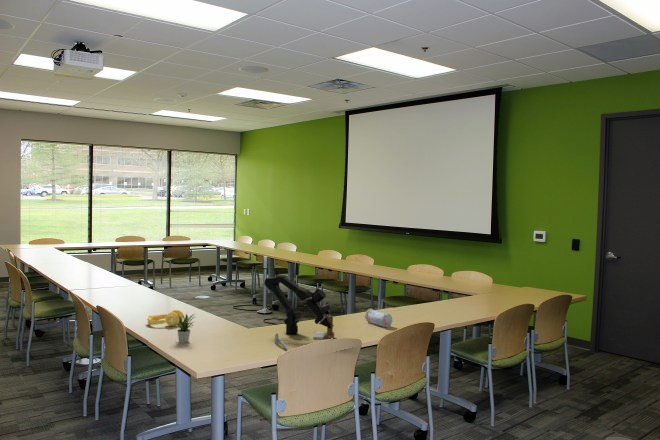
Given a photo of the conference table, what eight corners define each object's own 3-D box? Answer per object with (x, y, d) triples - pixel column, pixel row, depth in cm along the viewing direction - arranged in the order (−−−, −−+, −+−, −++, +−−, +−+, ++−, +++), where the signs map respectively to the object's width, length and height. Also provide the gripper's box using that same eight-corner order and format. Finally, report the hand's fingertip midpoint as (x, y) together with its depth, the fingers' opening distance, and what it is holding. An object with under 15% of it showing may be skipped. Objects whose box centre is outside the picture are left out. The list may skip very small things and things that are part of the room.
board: (313, 338, 304) (313, 336, 304) (315, 333, 317) (315, 331, 317) (323, 339, 304) (323, 337, 304) (325, 333, 317) (325, 331, 316)
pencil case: (364, 322, 351) (364, 308, 351) (374, 321, 356) (374, 307, 356) (382, 328, 333) (383, 314, 333) (393, 327, 338) (393, 313, 338)
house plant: (203, 339, 298) (203, 310, 298) (191, 345, 285) (192, 315, 284) (180, 337, 302) (181, 309, 301) (168, 343, 288) (168, 314, 288)
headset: (152, 320, 342) (153, 306, 342) (184, 322, 342) (185, 308, 342) (143, 327, 324) (143, 312, 324) (176, 328, 324) (177, 314, 324)
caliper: (274, 344, 292) (274, 332, 292) (276, 343, 293) (276, 332, 293) (289, 353, 274) (289, 341, 274) (291, 353, 275) (291, 341, 275)
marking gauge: (325, 339, 304) (325, 317, 303) (325, 336, 309) (326, 315, 309) (333, 339, 303) (334, 317, 303) (334, 337, 309) (334, 315, 309)
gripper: (320, 301, 298) (338, 321, 296) (327, 295, 316) (345, 315, 314) (306, 314, 300) (325, 334, 298) (314, 307, 318) (332, 327, 316)
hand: (332, 327), depth 306 cm, fingers open, 4 cm apart
